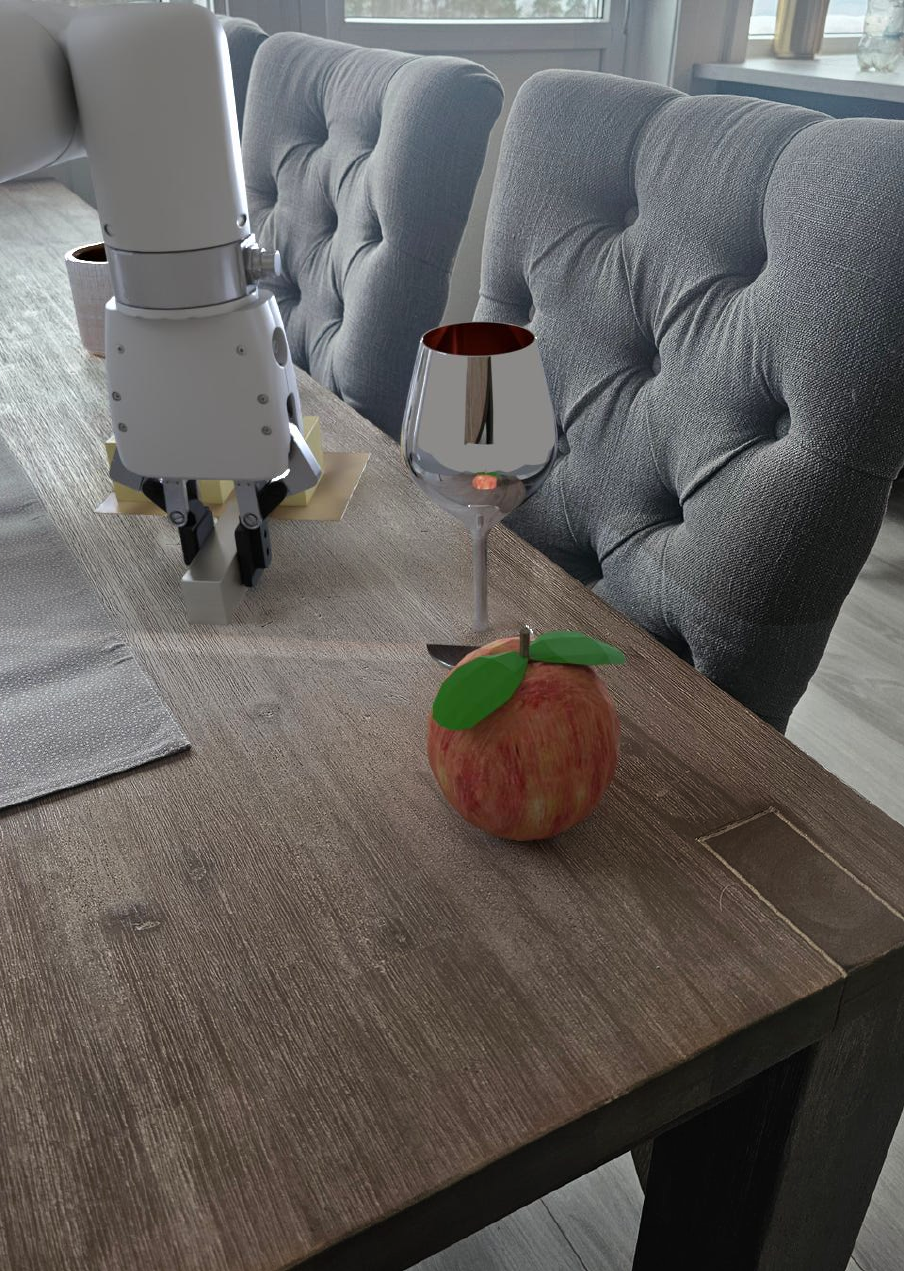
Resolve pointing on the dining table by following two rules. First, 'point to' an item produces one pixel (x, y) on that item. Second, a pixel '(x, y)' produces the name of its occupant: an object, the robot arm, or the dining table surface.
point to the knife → (216, 574)
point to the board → (322, 506)
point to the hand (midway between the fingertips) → (230, 573)
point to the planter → (90, 293)
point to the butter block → (209, 494)
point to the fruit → (526, 734)
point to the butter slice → (315, 445)
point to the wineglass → (478, 436)
